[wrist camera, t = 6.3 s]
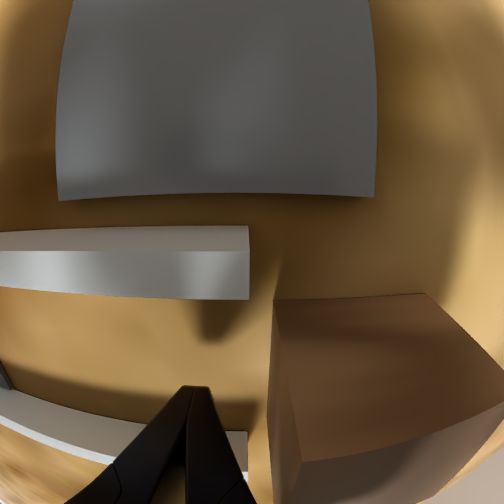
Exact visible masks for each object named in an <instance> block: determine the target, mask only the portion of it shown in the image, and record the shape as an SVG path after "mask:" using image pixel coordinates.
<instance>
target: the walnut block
mask: <svg viewBox="0 0 504 504" xmlns="http://www.w3.org/2000/svg"><path fill="white" fill-rule="evenodd" d="M503 419H504V370H503V369H502V368H501V367H500V366H499V365H498V364H497V363H496V362H495V361H494V359H493V358H492V357H491V356H490V355H489V354H488V353H487V352H486V351H485V350H484V349H483V348H482V347H481V346H480V345H479V344H478V343H477V342H476V341H475V340H474V339H473V338H472V337H471V336H470V335H469V334H468V333H467V332H466V331H465V330H464V329H463V328H462V327H461V326H460V325H459V324H458V323H457V322H456V321H455V320H454V319H453V318H452V317H451V316H450V315H448V314H447V313H446V312H445V311H444V310H443V309H442V308H441V307H440V306H439V305H438V304H437V303H436V302H434V301H433V300H432V299H431V298H430V297H429V296H428V295H427V294H426V293H420V294H408V295H394V296H378V297H360V298H339V299H312V300H273V313H272V333H271V352H270V370H269V386H268V401H267V426H268V438H269V450H270V462H271V474H272V486H273V498H274V504H416V503H418V502H421V501H423V500H426V499H428V498H430V497H433V496H434V495H435V494H436V493H437V492H438V491H439V490H440V489H442V488H443V487H444V486H445V485H446V484H447V483H448V482H449V481H450V480H451V479H452V478H453V477H454V476H455V475H456V474H457V473H458V472H459V471H460V470H461V469H462V468H463V467H464V466H465V465H466V464H467V463H468V462H469V461H470V459H471V458H472V457H473V456H474V455H475V454H476V453H477V452H478V450H479V449H480V448H481V447H482V446H483V445H484V443H485V442H486V441H487V440H488V438H489V437H490V436H491V435H492V433H493V432H494V431H495V430H496V428H497V427H498V426H499V424H500V423H501V422H502V420H503Z"/></svg>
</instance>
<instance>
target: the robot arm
mask: <svg viewBox="0 0 504 504" xmlns="http://www.w3.org/2000/svg"><path fill="white" fill-rule="evenodd" d="M64 504H257V503H256V501H255V499H254V497H253V495H252V493H251V491H250V489H249V487H248V485H247V482H246V480H245V479H244V476H243V474H242V471H241V469H240V467H239V464H238V462H237V460H236V457H235V455H234V452H233V450H232V447H231V445H230V442H229V440H228V437H227V435H226V432H225V430H224V427H223V424H222V422H221V419H220V416H219V414H218V411H217V408H216V405H215V403H214V400H213V397H212V394H211V391H210V389H209V387H207V386H188V385H184V386H182V387H181V388H180V389H179V390H178V391H177V392H176V393H175V395H174V396H173V397H172V398H171V399H170V400H169V401H168V402H167V403H166V405H165V406H164V407H163V408H162V409H161V410H160V411H159V412H158V413H157V415H156V416H155V417H154V418H153V419H152V420H151V421H150V422H149V423H148V424H147V425H146V427H145V428H144V429H143V430H142V431H141V432H140V433H139V434H138V435H137V436H136V437H135V438H134V440H133V441H132V442H131V443H130V444H129V445H128V446H127V447H126V448H125V449H124V450H123V451H122V452H121V453H120V454H119V455H118V456H117V458H116V459H115V460H114V461H113V463H111V464H110V465H109V466H108V467H107V468H106V469H105V470H104V471H103V472H102V473H101V474H100V475H99V476H98V477H97V478H96V479H94V480H93V481H92V482H91V483H90V484H89V485H88V486H86V487H85V488H84V489H83V490H81V491H80V492H79V493H78V494H76V495H75V496H74V497H72V498H71V499H69V500H68V501H67V502H65V503H64Z"/></svg>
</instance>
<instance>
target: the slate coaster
mask: <svg viewBox="0 0 504 504" xmlns="http://www.w3.org/2000/svg"><path fill="white" fill-rule="evenodd" d="M376 158H377V81H376V63H375V50H374V39H373V30H372V21H371V14H370V7H369V0H73V4H72V8H71V12H70V16H69V21H68V25H67V30H66V35H65V40H64V46H63V52H62V58H61V65H60V73H59V82H58V93H57V107H56V175H57V190H58V201H67V200H78V199H90V198H103V197H117V196H134V195H154V194H182V193H292V194H320V195H340V196H357V197H372V198H374V192H375V177H376Z"/></svg>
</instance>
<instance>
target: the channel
mask: <svg viewBox="0 0 504 504" xmlns="http://www.w3.org/2000/svg"><path fill="white" fill-rule="evenodd" d="M249 276H250V248H249V229H248V226H141V227H103V228H75V229H51V230H31V231H13V232H0V286H5V287H13V288H22V289H32V290H42V291H53V292H64V293H77V294H90V295H105V296H123V297H143V298H169V299H209V300H249ZM12 388H13V386H12V384H11V382H10V380H9V378H8V376H7V375H6V373H5V371H4V369H3V367H2V365H1V363H0V423H1V424H3V425H4V426H6V427H8V428H10V429H12V430H14V431H16V432H18V433H21V434H23V435H25V436H27V437H29V438H32V439H34V440H36V441H38V442H41V443H43V444H46V445H48V446H51V447H53V448H56V449H59V450H61V451H64V452H67V453H70V454H73V455H76V456H79V457H82V458H85V459H88V460H92V461H95V462H99V463H102V464H106V465H110V464H111V463H113V461H114V460H115V459H116V458H117V456H118V455H119V454H120V453H121V452H122V451H123V450H124V449H125V448H126V447H127V446H128V445H129V444H130V443H131V442H132V441H133V440H134V438H135V437H136V436H137V435H138V434H139V433H140V432H141V431H142V430H143V429H144V428H145V427H146V425H147V424H141V423H134V422H129V421H123V420H118V419H113V418H108V417H103V416H99V415H94V414H90V413H86V412H82V411H78V410H74V409H71V408H67V407H64V406H60V405H57V404H54V403H51V402H48V401H44V400H41V399H39V398H36V397H33V396H30V395H27V394H25V393H22V392H19V391H17V390H14V389H12ZM225 432H226V435H227V437H228V440H229V442H230V445H231V447H232V450H233V452H234V455H235V457H236V460H237V462H238V464H239V467H240V469H241V471H242V474H243V476H244V479H245V480H246V482H248V439H247V431H225Z"/></svg>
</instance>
